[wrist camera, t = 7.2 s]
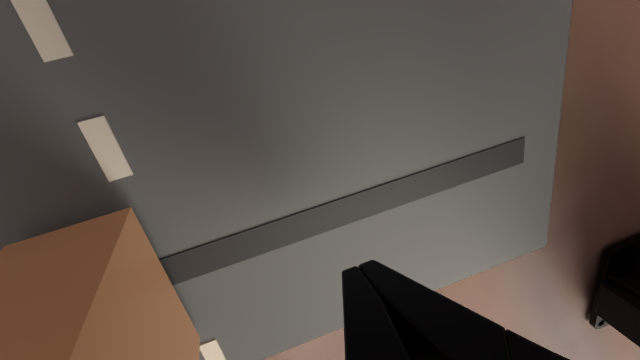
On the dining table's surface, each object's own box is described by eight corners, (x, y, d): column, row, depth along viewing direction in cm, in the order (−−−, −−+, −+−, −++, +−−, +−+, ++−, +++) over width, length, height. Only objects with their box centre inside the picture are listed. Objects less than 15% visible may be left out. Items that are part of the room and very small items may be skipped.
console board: (529, -482, 8) (647, -666, 6) (503, 217, 17) (547, 246, 15) (-651, -484, 5) (-1327, -884, 3) (72, 379, 14) (47, 447, 12)
